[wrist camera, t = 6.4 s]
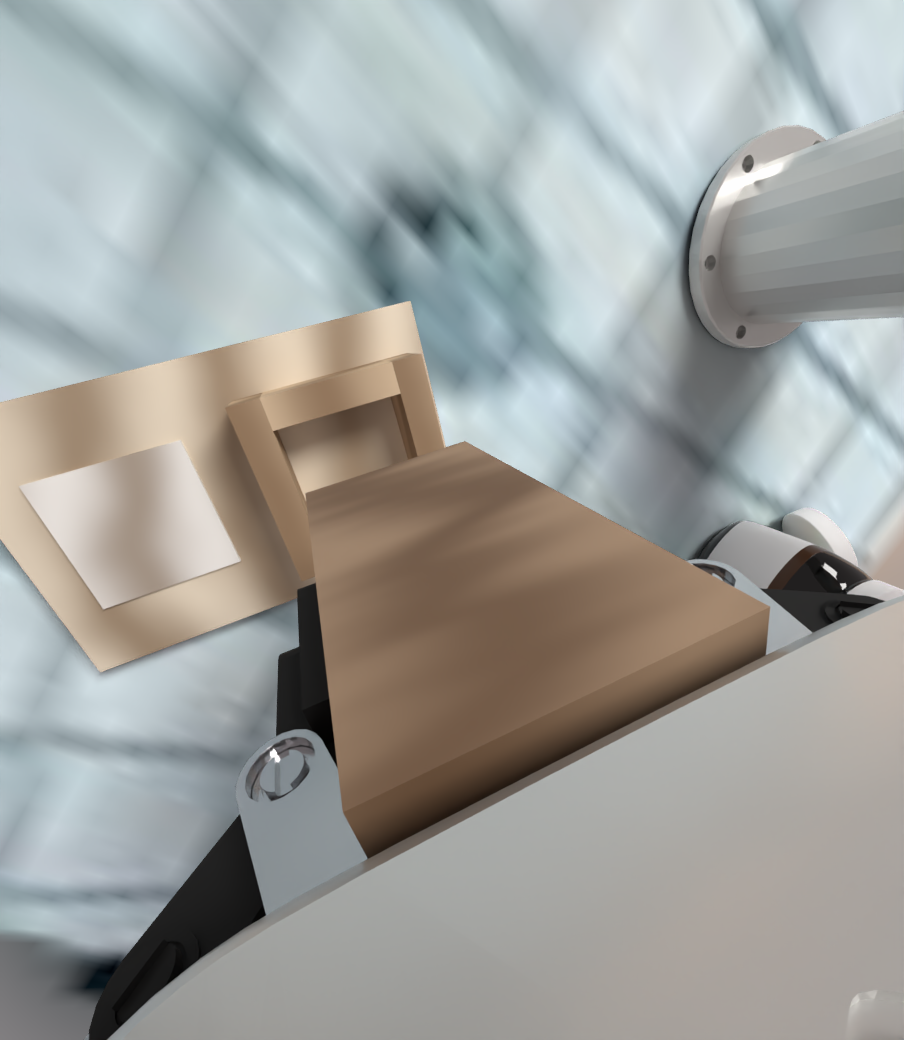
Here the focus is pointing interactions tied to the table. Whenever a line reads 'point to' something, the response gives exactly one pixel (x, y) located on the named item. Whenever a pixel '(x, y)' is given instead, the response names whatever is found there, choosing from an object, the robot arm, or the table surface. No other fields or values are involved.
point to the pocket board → (203, 476)
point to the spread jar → (796, 556)
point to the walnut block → (495, 633)
